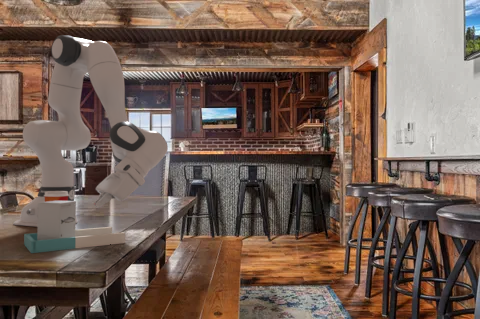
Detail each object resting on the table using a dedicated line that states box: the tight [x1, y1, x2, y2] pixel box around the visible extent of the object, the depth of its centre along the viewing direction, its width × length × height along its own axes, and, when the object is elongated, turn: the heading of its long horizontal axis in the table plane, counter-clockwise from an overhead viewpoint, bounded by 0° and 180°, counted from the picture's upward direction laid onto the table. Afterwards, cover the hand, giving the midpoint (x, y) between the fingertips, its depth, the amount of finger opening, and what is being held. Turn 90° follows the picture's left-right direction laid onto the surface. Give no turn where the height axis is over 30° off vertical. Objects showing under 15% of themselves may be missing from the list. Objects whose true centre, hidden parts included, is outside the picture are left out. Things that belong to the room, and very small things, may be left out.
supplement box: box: [36, 200, 77, 240], centre depth 116 cm, size 7×7×13 cm
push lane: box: [23, 226, 126, 254], centre depth 119 cm, size 25×13×3 cm, turn 125°
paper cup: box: [44, 191, 69, 202], centre depth 133 cm, size 8×8×14 cm
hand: (96, 206), depth 122 cm, fingers closed
